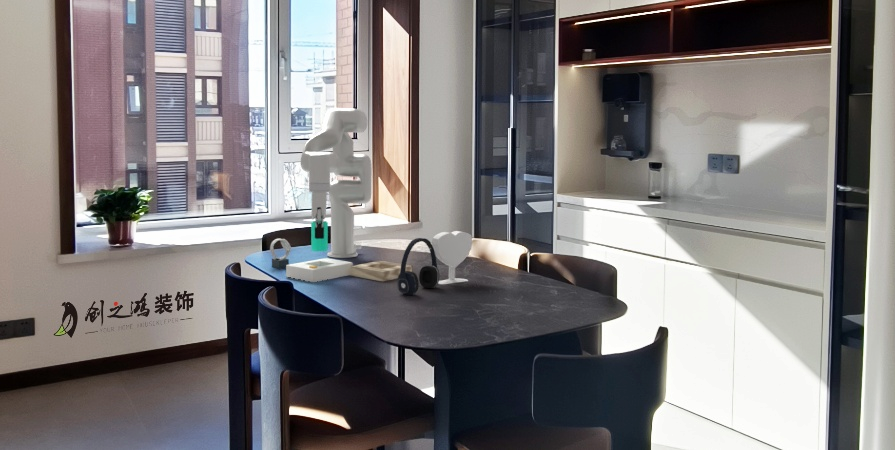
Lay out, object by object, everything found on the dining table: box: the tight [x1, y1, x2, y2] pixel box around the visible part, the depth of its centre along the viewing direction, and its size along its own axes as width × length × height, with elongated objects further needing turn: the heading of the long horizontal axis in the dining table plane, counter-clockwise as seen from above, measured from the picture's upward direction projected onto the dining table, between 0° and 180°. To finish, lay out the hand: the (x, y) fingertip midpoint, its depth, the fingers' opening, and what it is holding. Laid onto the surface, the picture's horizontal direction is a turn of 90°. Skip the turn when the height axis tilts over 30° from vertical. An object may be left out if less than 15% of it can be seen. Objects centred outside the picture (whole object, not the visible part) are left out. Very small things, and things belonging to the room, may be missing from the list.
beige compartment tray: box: [350, 260, 413, 282], centre depth 323 cm, size 16×16×4 cm
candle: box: [310, 220, 329, 252], centre depth 318 cm, size 6×6×12 cm
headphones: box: [397, 237, 440, 296], centre depth 296 cm, size 20×7×18 cm, turn 149°
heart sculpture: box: [431, 230, 473, 285], centre depth 313 cm, size 16×5×18 cm, turn 127°
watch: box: [269, 238, 292, 269], centre depth 336 cm, size 6×8×11 cm
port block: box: [285, 257, 354, 283], centre depth 320 cm, size 20×14×5 cm
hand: (319, 236), depth 318 cm, fingers closed on candle, 4 cm apart
